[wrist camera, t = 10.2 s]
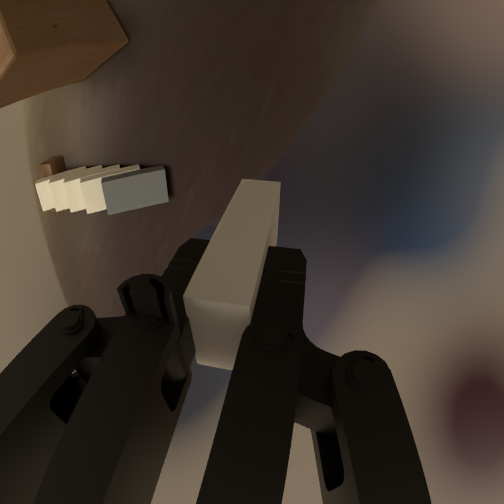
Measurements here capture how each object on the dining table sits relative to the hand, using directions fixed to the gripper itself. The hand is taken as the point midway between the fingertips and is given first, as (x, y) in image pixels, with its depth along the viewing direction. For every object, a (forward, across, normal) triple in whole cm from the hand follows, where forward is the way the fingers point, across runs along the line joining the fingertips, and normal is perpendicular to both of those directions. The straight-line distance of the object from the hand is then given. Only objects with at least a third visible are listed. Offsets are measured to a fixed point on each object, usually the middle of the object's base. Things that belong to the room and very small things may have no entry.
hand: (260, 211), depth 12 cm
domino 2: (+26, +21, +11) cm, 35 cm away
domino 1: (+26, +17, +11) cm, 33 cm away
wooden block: (+27, +28, -12) cm, 40 cm away
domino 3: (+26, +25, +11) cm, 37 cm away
